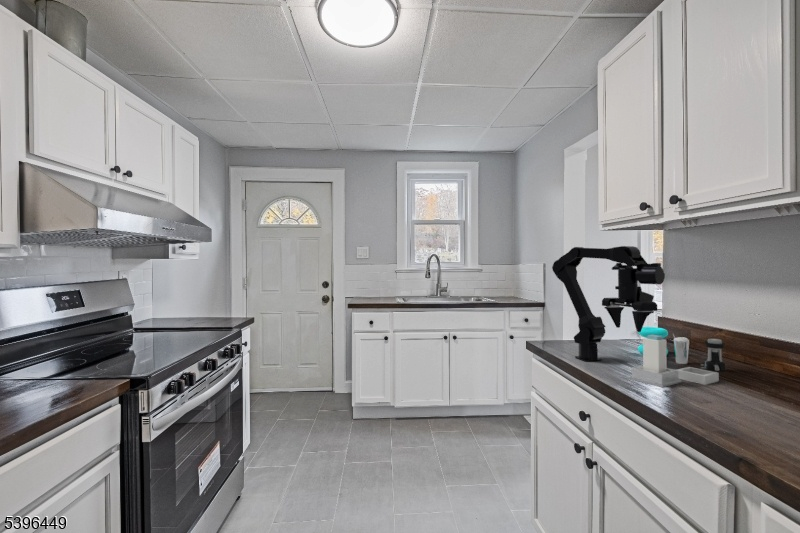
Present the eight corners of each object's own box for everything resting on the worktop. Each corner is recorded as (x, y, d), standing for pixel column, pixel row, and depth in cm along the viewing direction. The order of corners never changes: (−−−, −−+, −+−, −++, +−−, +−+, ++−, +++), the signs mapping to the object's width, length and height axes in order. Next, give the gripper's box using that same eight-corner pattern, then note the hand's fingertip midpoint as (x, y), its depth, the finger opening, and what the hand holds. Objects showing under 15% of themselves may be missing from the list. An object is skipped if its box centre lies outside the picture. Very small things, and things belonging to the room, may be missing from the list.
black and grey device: (704, 371, 130) (704, 340, 130) (696, 367, 135) (696, 337, 135) (728, 372, 128) (728, 341, 128) (720, 368, 133) (719, 338, 133)
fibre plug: (643, 377, 121) (643, 335, 121) (651, 376, 123) (651, 334, 123) (658, 381, 117) (658, 337, 117) (666, 379, 119) (666, 336, 119)
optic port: (628, 378, 123) (628, 367, 123) (648, 374, 127) (647, 363, 127) (662, 387, 114) (662, 375, 114) (682, 382, 118) (682, 370, 118)
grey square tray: (675, 377, 123) (675, 369, 123) (689, 374, 126) (689, 366, 126) (705, 384, 116) (705, 376, 116) (718, 381, 119) (718, 372, 119)
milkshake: (677, 360, 144) (677, 332, 144) (692, 364, 139) (692, 335, 139) (668, 361, 143) (668, 333, 143) (683, 365, 138) (683, 336, 138)
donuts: (660, 326, 159) (673, 330, 150) (660, 351, 160) (673, 357, 150) (633, 326, 161) (644, 330, 151) (633, 350, 161) (645, 356, 151)
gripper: (672, 284, 127) (672, 333, 127) (627, 281, 145) (628, 324, 145) (641, 284, 125) (642, 334, 125) (600, 282, 143) (601, 325, 143)
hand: (628, 329), depth 135 cm, fingers open, 9 cm apart
